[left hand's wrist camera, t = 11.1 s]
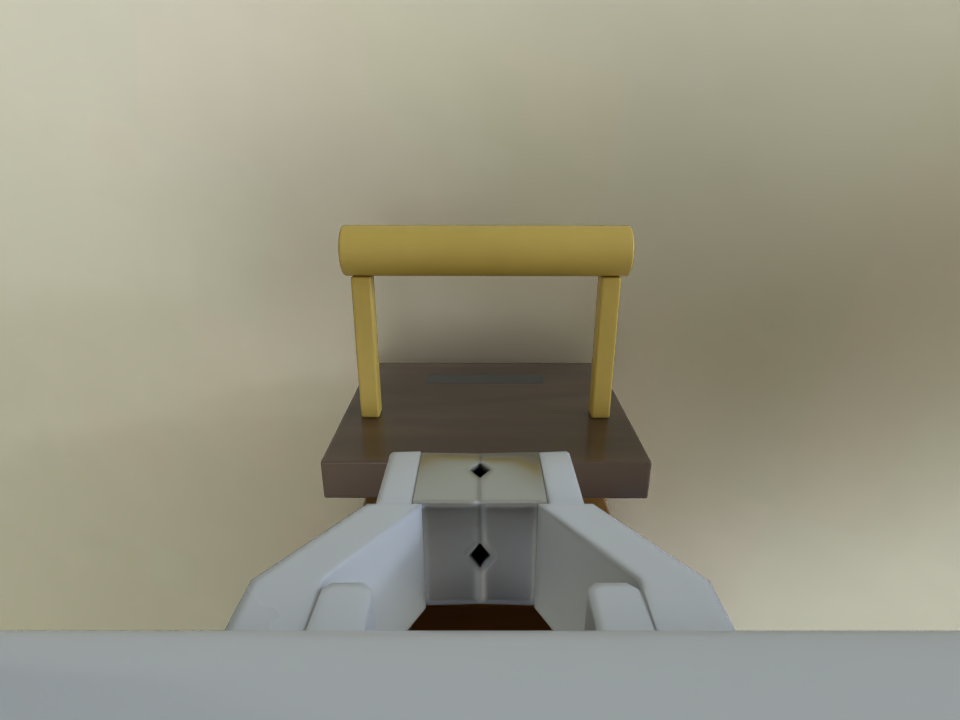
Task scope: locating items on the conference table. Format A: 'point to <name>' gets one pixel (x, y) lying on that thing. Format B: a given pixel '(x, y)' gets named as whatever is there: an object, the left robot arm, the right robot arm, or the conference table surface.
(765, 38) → the conference table surface
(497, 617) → the drawer
